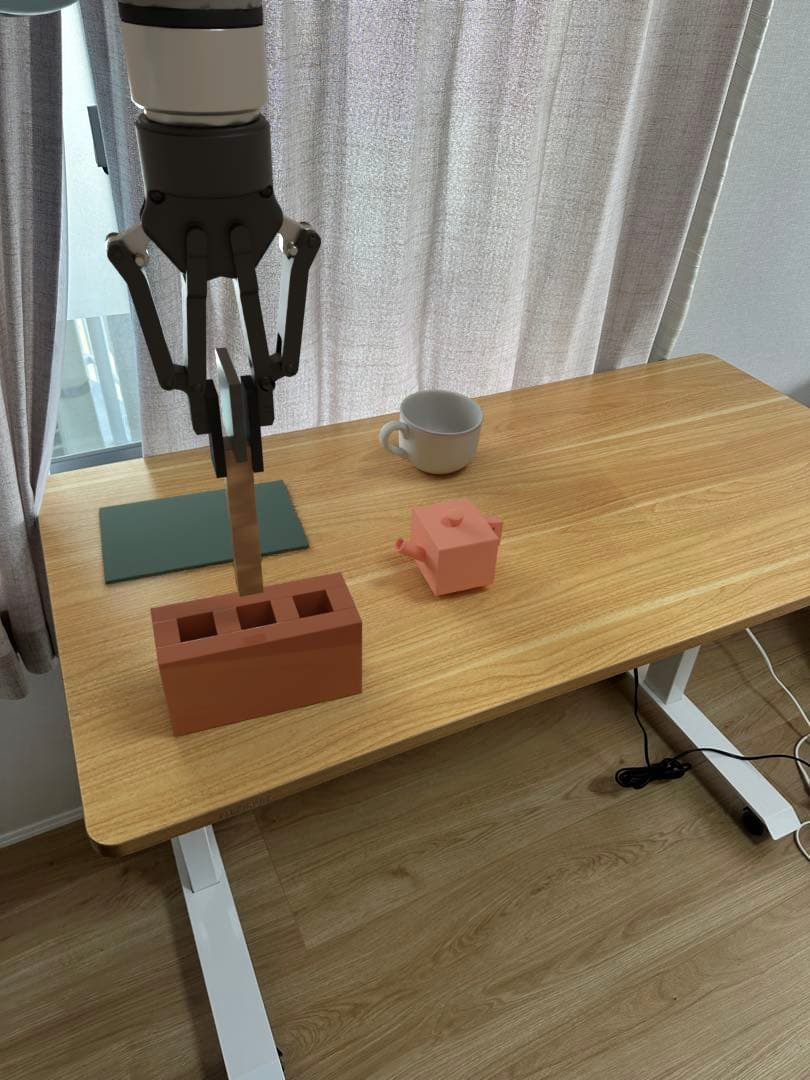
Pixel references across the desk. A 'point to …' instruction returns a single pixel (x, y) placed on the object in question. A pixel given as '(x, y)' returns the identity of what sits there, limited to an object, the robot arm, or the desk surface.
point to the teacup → (436, 431)
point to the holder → (258, 652)
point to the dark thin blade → (239, 481)
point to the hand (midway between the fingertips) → (237, 464)
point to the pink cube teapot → (453, 545)
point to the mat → (190, 532)
